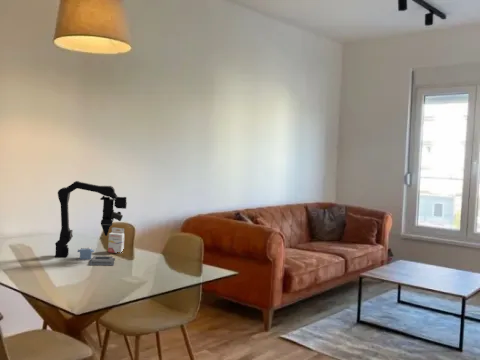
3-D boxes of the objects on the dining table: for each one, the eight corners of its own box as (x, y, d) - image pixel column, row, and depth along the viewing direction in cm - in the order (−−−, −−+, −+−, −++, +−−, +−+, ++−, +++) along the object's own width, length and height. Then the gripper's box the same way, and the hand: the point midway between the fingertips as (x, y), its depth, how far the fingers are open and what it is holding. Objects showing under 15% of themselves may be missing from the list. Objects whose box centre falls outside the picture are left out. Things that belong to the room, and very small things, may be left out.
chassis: (89, 265, 274) (89, 260, 274) (91, 259, 287) (91, 255, 287) (113, 265, 277) (113, 261, 277) (114, 259, 289) (115, 255, 289)
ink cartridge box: (107, 252, 306) (108, 228, 305) (110, 250, 311) (111, 227, 310) (121, 253, 306) (122, 229, 304) (124, 251, 310) (124, 228, 309)
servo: (77, 259, 286) (77, 248, 285) (77, 257, 290) (78, 246, 289) (93, 259, 288) (93, 248, 287) (94, 257, 292) (94, 247, 291)
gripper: (121, 210, 285) (120, 237, 286) (122, 206, 303) (121, 231, 304) (101, 209, 283) (99, 237, 284) (103, 205, 301) (102, 230, 302)
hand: (106, 234), depth 294 cm, fingers open, 9 cm apart
